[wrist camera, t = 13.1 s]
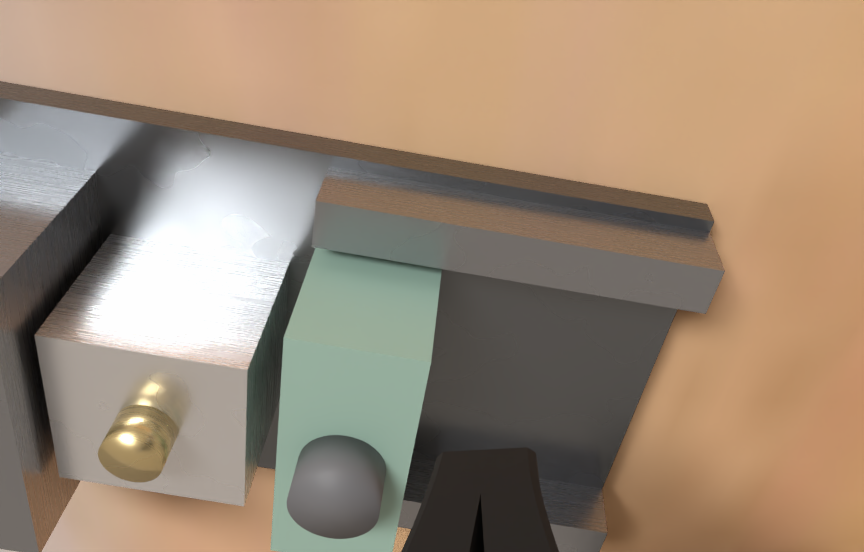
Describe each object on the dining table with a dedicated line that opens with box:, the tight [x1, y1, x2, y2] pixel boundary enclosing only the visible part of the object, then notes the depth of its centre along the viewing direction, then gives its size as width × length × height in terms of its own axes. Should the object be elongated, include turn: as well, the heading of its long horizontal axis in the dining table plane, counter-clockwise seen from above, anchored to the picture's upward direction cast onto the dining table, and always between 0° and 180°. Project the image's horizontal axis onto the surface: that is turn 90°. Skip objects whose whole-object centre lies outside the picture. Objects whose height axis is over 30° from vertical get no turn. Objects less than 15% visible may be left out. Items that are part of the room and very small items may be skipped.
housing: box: [34, 234, 289, 506], centre depth 19 cm, size 4×4×5 cm
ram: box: [271, 248, 442, 552], centre depth 19 cm, size 3×7×5 cm, turn 171°
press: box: [0, 81, 725, 552], centre depth 20 cm, size 18×11×6 cm, turn 81°
